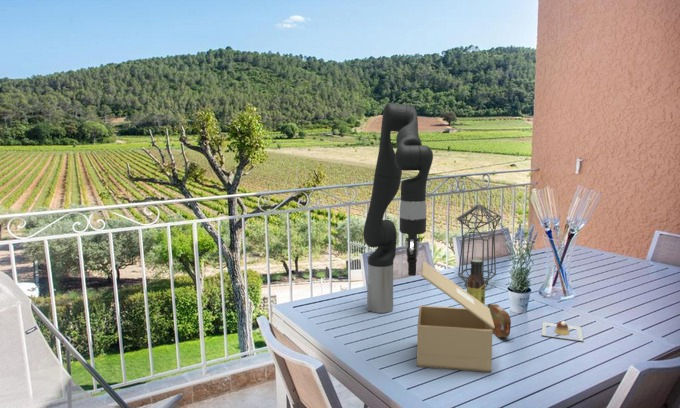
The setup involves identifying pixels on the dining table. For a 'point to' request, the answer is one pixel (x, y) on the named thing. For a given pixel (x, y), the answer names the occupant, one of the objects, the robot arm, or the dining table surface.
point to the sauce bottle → (476, 281)
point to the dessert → (562, 330)
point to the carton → (453, 339)
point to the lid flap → (457, 293)
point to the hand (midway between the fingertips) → (412, 274)
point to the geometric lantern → (478, 239)
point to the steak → (500, 320)
